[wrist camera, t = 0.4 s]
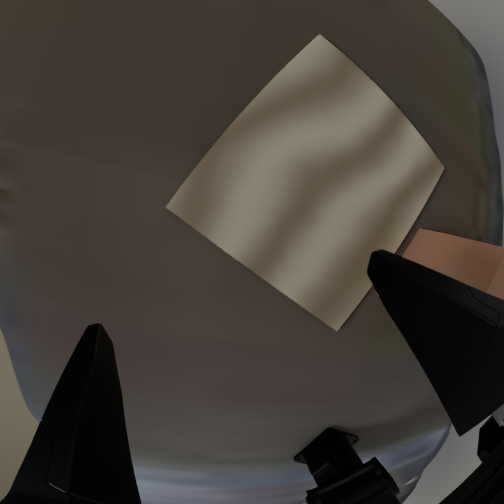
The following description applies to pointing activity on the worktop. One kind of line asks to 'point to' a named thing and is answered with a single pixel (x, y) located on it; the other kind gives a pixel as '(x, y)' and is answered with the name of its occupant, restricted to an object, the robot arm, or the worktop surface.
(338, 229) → the birch board
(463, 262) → the terracotta block
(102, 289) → the worktop surface
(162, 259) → the worktop surface
